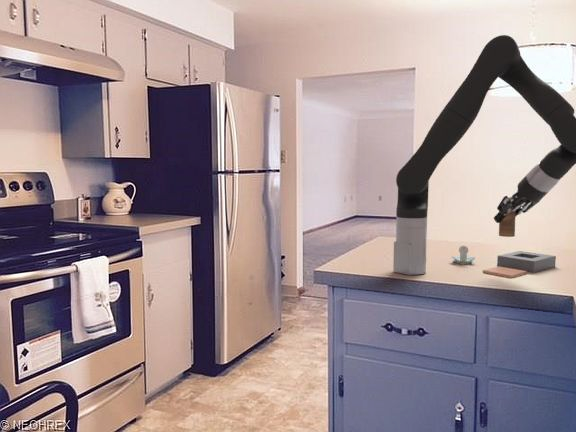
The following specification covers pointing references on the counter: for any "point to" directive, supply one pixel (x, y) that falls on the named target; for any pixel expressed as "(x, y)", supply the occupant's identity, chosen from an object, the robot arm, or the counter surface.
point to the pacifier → (463, 256)
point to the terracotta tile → (505, 272)
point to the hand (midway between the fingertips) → (501, 220)
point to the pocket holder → (526, 261)
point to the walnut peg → (508, 225)
